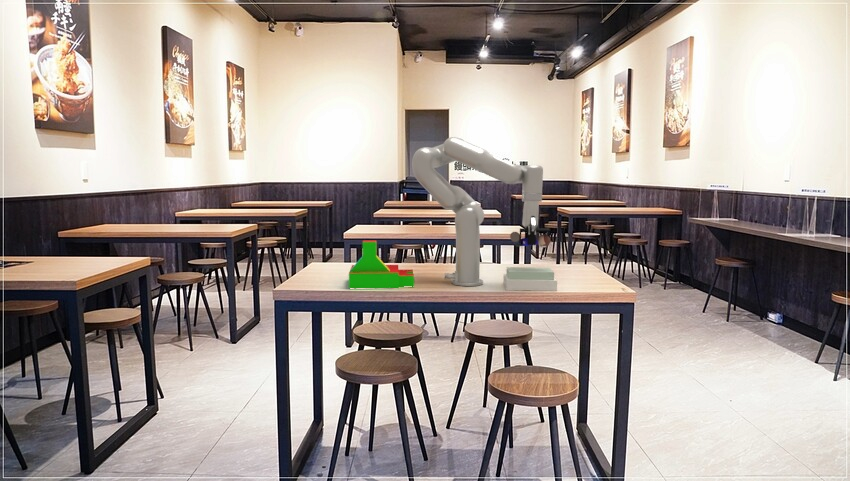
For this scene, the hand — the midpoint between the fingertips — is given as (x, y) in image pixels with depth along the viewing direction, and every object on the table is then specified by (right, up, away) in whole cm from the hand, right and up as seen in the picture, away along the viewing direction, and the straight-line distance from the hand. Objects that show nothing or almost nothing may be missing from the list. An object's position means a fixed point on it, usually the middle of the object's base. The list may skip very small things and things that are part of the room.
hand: (530, 243), depth 225 cm
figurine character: (0, -2, 0) cm, 2 cm away
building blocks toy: (-58, -17, +8) cm, 61 cm away
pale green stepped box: (0, -17, +2) cm, 17 cm away
